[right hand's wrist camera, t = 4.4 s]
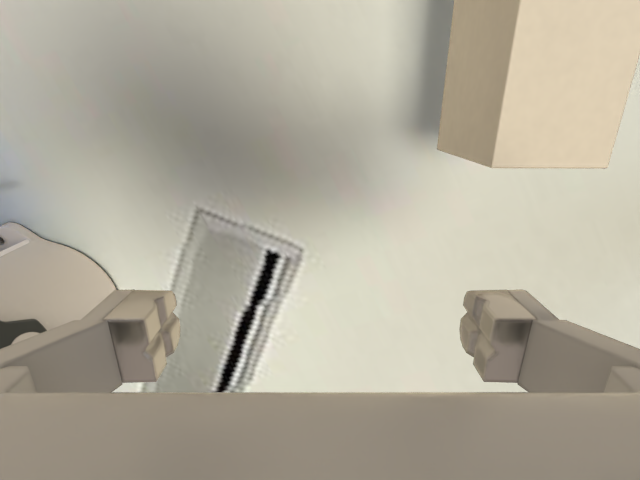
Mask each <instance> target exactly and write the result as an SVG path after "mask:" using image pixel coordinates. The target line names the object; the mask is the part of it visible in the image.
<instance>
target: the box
mask: <svg viewBox="0 0 640 480" xmlns="http://www.w3.org/2000/svg"><path fill="white" fill-rule="evenodd" d="M639 55H640V0H454V8H453V17H452V25H451V34H450V42H449V51H448V59H447V68H446V76H445V85H444V93H443V102H442V110H441V119H440V127H439V136H438V144H437V149H438V150H440V151H443V152H446V153H449V154H452V155H455V156H458V157H461V158H464V159H467V160H470V161H473V162H476V163H479V164H482V165H485V166H488V167H491V168H607V167H608V164H609V161H610V157H611V154H612V150H613V147H614V143H615V140H616V136H617V133H618V129H619V126H620V122H621V118H622V115H623V111H624V108H625V104H626V101H627V97H628V94H629V90H630V87H631V83H632V80H633V76H634V73H635V69H636V66H637V62H638V59H639Z"/></svg>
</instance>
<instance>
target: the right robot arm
mask: <svg viewBox="0 0 640 480" xmlns="http://www.w3.org/2000/svg"><path fill="white" fill-rule="evenodd" d="M1 238H2V239H3V240H4V241H2V239H1ZM176 306H177V303H176V298H175V294H174V293H173V292H172V291H164V290H116V288H115V286H114V284H113V282H112V281H111V279H110V278H109V277H108V275H107V274H106V273H105V272H104V271H103V270H102V269H101V268H100V267H99V266H98V265H97V264H96V263H95V262H94V261H92V260H91V259H90V258H88V257H87V256H85V255H84V254H82V253H80V252H78V251H76V250H74V249H72V248H70V247H67V246H64V245H61V244H58V243H54V242H51V241H47V240H45V239H42V238H40V237H39V236H37V235H36V234H34V233H33V232H31V231H30V230H28V229H27V228H25V227H23V226H21V225H19V224H17V223H13V222H9V223H6V224H4V225H2V226H0V480H640V349H638V348H636V347H633V346H631V345H628V344H625V343H623V342H620V341H618V340H615V339H613V338H610V337H607V336H605V335H602V334H600V333H597V332H595V331H592V330H590V329H587V328H584V327H582V326H579V325H577V324H574V323H572V322H569V321H567V320H559V319H558V318H557V317H556V316H554V315H553V314H552V313H551V312H550V311H549V310H548V309H546V308H545V307H544V306H543V305H542V304H541V303H540V302H538V301H537V300H536V299H535V298H534V297H533V296H532V295H531V294H529V293H528V292H527V291H525V290H478V291H467V292H466V295H465V297H464V302H463V306H464V307H465V309H466V311H467V313H466V314H465V315H464V316H463V317H462V318H461V322H460V339H461V343H462V346H463V348H464V350H465V351H466V353H468V354H469V355H471V356H473V357H474V361H473V365H474V366H475V368H476V370H477V371H478V373H479V375H480V376H481V378H482V380H483V381H484V382H513V383H518V385H519V386H521V387H522V388H524V389H525V390H526V391H528V392H337V393H111V392H112V391H114V390H115V389H117V388H118V387H119V386H121V385H122V383H127V382H156V381H157V380H158V378H159V376H160V375H161V373H162V371H163V370H164V368H165V366H166V365H167V361H166V357H168V356H169V355H171V354H172V353H174V351H175V349H176V348H177V346H178V342H179V338H180V321H179V318H178V317H177V316H176V315H175V314H174V313H173V311H174V309H175V307H176Z"/></svg>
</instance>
